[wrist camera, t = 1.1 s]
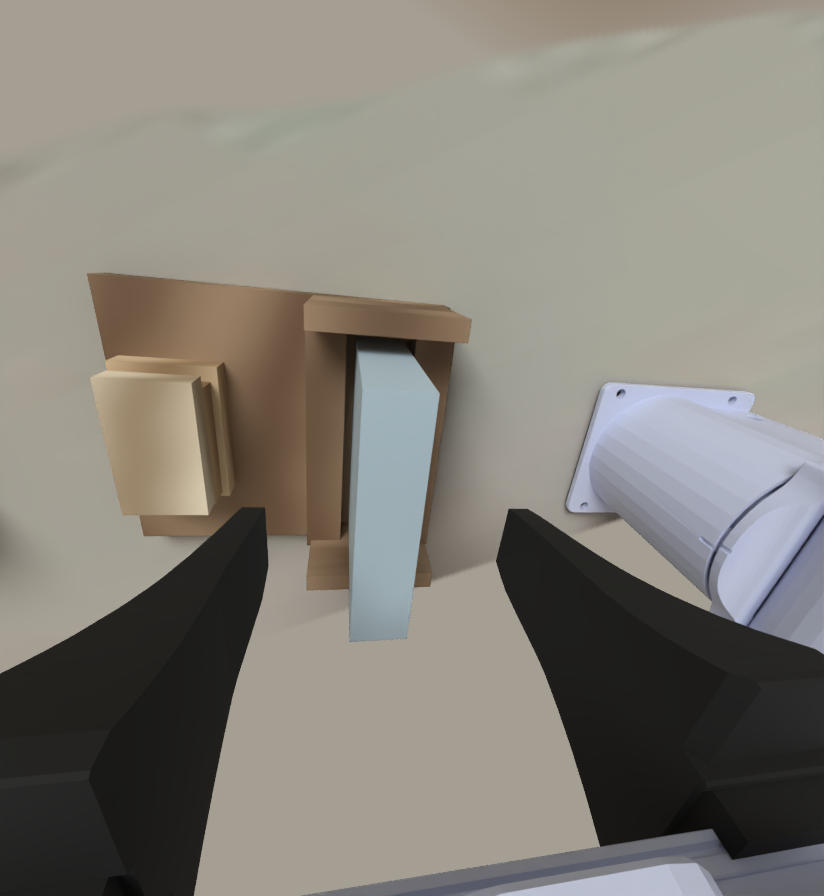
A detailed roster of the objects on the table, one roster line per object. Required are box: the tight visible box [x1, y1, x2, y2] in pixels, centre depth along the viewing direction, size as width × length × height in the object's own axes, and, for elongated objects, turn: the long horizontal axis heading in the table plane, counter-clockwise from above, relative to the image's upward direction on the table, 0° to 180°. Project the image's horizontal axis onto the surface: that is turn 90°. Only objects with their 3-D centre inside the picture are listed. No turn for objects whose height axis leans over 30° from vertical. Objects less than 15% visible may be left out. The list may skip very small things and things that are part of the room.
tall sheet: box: [349, 336, 440, 642], centre depth 16 cm, size 2×9×8 cm, turn 174°
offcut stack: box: [90, 355, 235, 515], centre depth 16 cm, size 4×6×3 cm, turn 175°
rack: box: [87, 273, 472, 590], centre depth 17 cm, size 14×12×5 cm
